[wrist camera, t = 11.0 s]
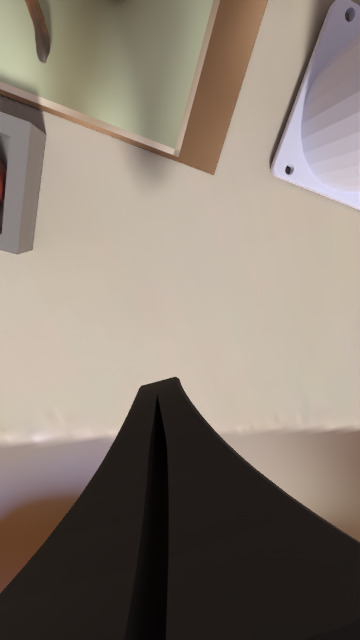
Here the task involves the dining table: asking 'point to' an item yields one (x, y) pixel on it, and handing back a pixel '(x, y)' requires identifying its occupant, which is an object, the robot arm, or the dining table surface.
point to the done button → (2, 182)
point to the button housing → (20, 182)
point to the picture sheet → (136, 68)
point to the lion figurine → (40, 30)
